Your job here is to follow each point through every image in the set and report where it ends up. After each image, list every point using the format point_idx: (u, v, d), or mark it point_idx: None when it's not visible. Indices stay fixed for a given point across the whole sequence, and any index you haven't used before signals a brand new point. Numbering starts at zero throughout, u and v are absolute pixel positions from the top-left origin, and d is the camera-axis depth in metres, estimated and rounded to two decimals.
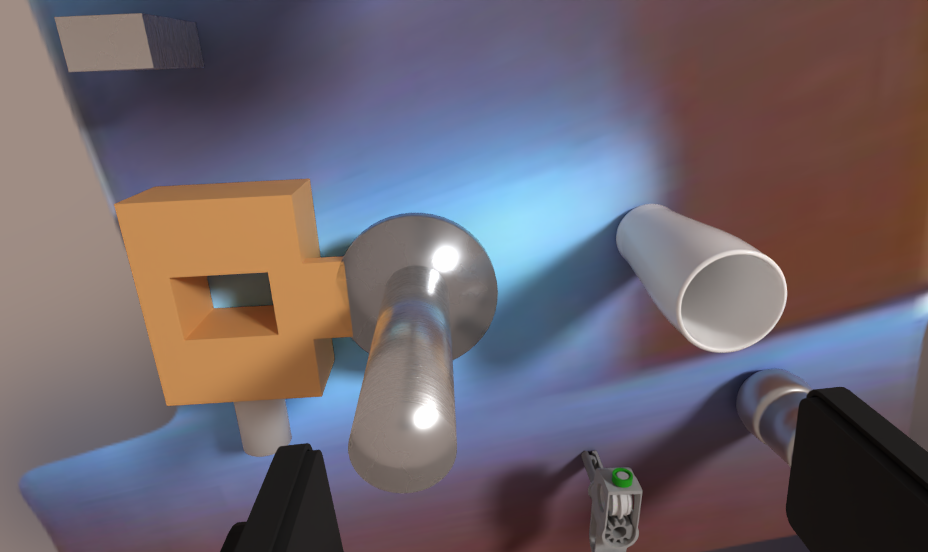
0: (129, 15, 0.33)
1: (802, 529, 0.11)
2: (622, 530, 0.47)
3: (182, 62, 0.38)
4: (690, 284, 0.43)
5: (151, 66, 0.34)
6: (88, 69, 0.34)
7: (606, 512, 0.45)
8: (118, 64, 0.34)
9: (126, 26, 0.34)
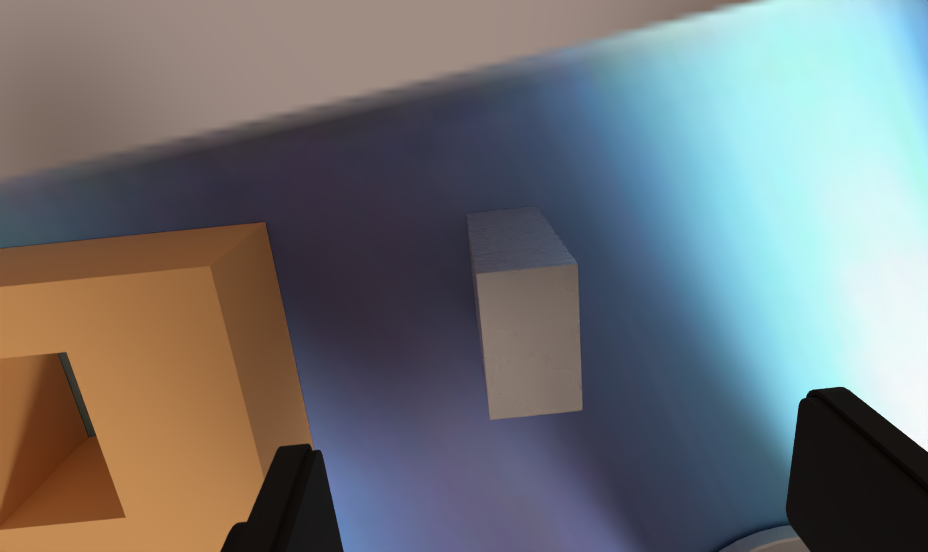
0: (579, 391, 0.18)
1: (802, 529, 0.11)
2: None
3: None
4: None
5: (492, 417, 0.18)
6: (482, 310, 0.17)
7: None
8: (494, 363, 0.18)
9: (560, 384, 0.18)
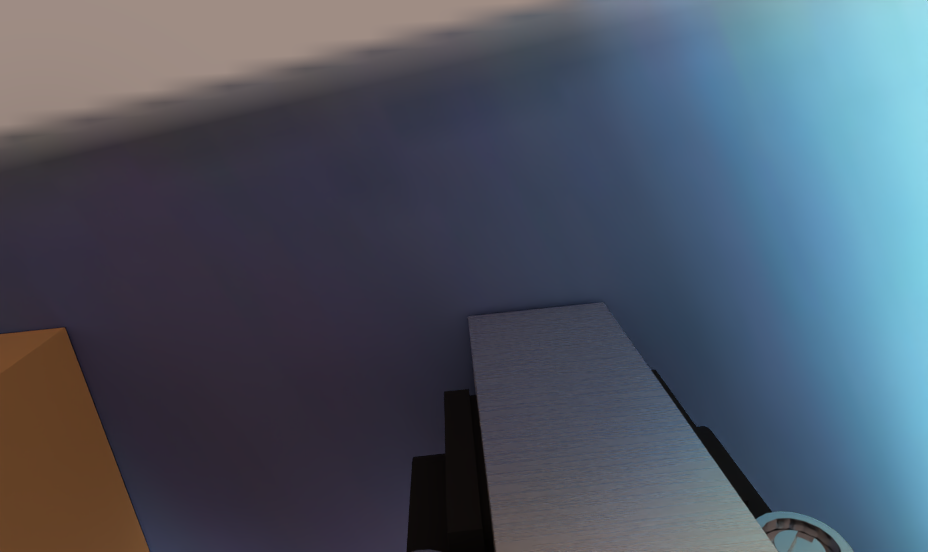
0: None
1: None
2: None
3: None
4: None
5: None
6: None
7: None
8: None
9: None
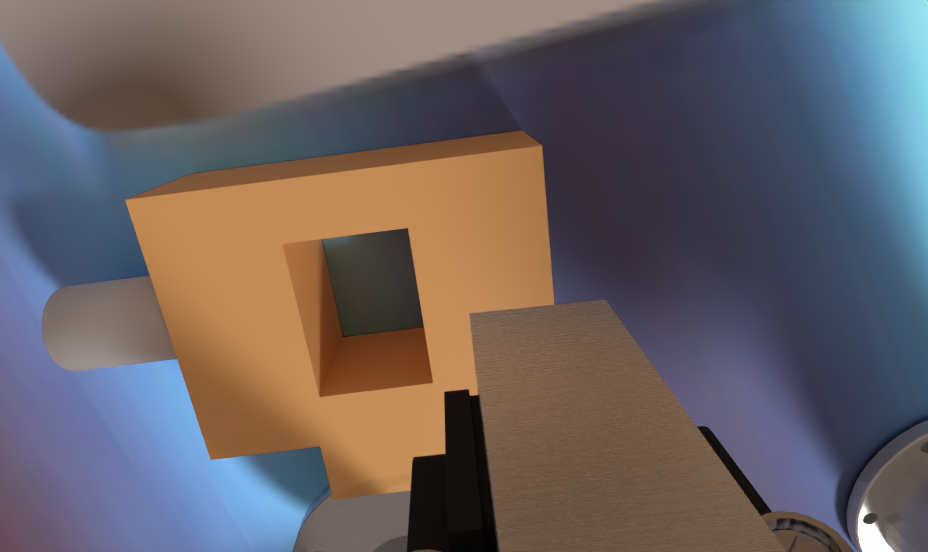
0: None
1: None
2: None
3: None
4: None
5: None
6: None
7: None
8: None
9: None
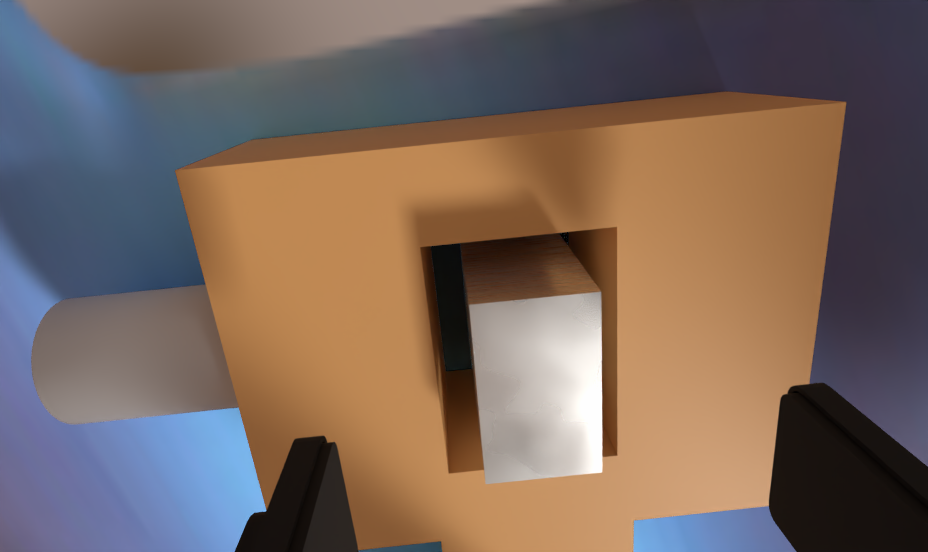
0: (598, 449, 0.14)
1: (784, 523, 0.11)
2: None
3: None
4: None
5: (489, 480, 0.15)
6: (477, 351, 0.13)
7: None
8: (491, 415, 0.14)
9: (575, 440, 0.14)
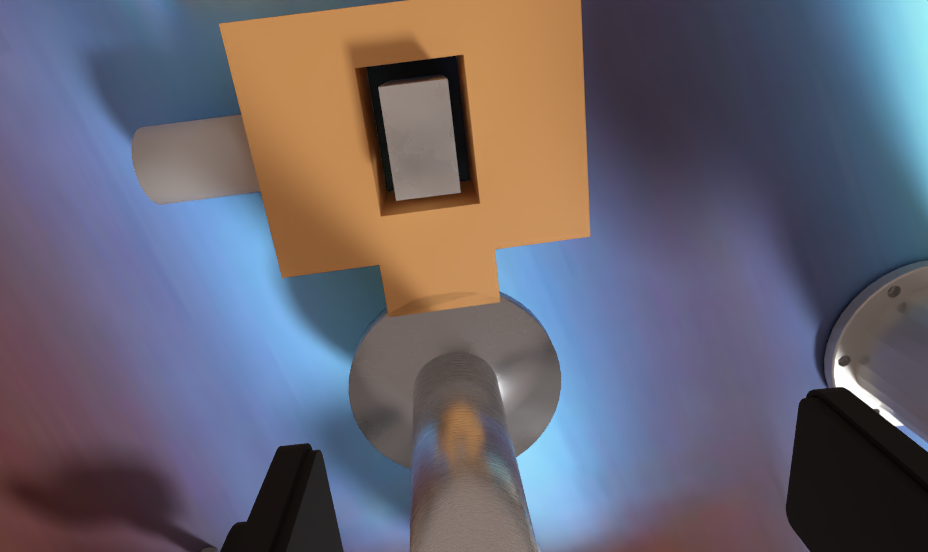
0: (457, 177, 0.26)
1: (802, 529, 0.11)
2: None
3: None
4: None
5: (397, 198, 0.26)
6: (384, 115, 0.25)
7: None
8: (396, 155, 0.26)
9: (443, 171, 0.26)
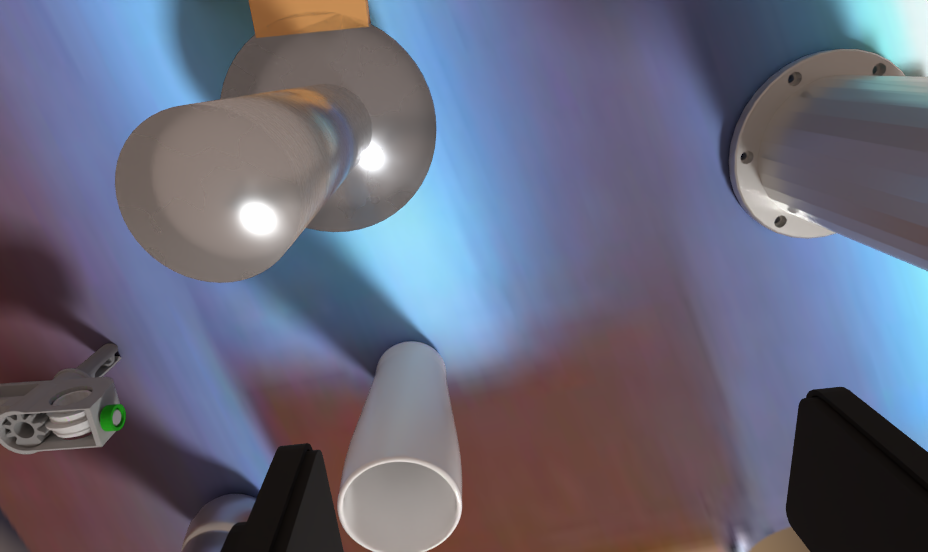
0: None
1: (802, 529, 0.11)
2: (26, 430, 0.34)
3: None
4: None
5: None
6: None
7: (54, 410, 0.33)
8: None
9: None
